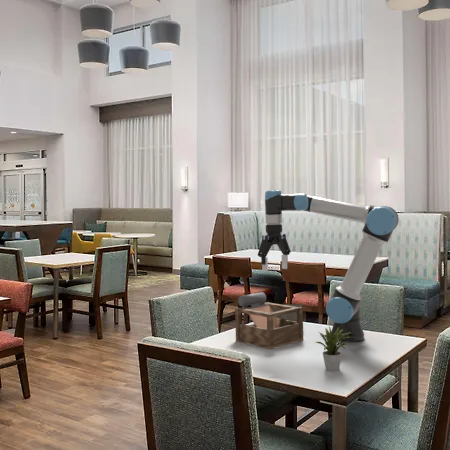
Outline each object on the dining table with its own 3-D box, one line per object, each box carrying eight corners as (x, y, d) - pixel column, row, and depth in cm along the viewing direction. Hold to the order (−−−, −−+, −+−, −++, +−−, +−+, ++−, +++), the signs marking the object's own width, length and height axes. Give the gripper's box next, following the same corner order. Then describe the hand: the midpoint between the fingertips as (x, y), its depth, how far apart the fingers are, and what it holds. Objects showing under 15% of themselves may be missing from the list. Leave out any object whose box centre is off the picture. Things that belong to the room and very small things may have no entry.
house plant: (345, 378, 200) (344, 332, 199) (308, 373, 207) (307, 329, 206) (356, 367, 212) (355, 324, 212) (321, 363, 219) (320, 321, 218)
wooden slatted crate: (303, 339, 257) (302, 307, 256) (270, 349, 242) (270, 314, 242) (268, 332, 273) (267, 302, 273) (235, 340, 258) (235, 308, 258)
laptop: (299, 325, 290) (299, 300, 290) (302, 330, 278) (302, 304, 277) (265, 325, 291) (264, 300, 290) (266, 331, 278) (265, 305, 278)
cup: (273, 332, 252) (279, 316, 255) (274, 336, 259) (280, 321, 262) (289, 337, 250) (295, 321, 253) (289, 342, 257) (295, 326, 259)
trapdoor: (281, 333, 262) (287, 327, 259) (259, 339, 252) (265, 332, 249) (257, 296, 272) (263, 290, 270) (235, 300, 262) (240, 293, 260)
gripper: (285, 222, 267) (286, 267, 268) (249, 225, 250) (250, 272, 250) (297, 222, 261) (298, 268, 262) (261, 225, 244) (262, 273, 245)
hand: (275, 270), depth 256 cm, fingers open, 13 cm apart
